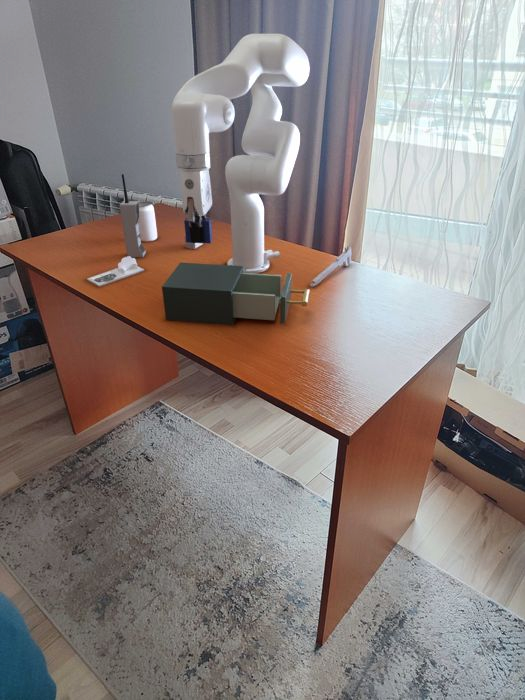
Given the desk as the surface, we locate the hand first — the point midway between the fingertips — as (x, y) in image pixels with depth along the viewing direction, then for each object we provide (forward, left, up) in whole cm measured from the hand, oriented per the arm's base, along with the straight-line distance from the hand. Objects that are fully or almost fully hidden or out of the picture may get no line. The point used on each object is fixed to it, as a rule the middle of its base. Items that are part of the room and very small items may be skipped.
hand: (199, 239), depth 121 cm
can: (+5, -53, -17) cm, 56 cm away
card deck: (0, 0, 0) cm, 0 cm away
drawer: (-13, +11, -16) cm, 24 cm away
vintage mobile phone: (+11, -39, -17) cm, 44 cm away
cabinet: (0, +3, -17) cm, 17 cm away
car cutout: (+19, -26, -17) cm, 37 cm away
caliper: (-39, -3, -17) cm, 43 cm away
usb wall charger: (-9, -41, -17) cm, 46 cm away
